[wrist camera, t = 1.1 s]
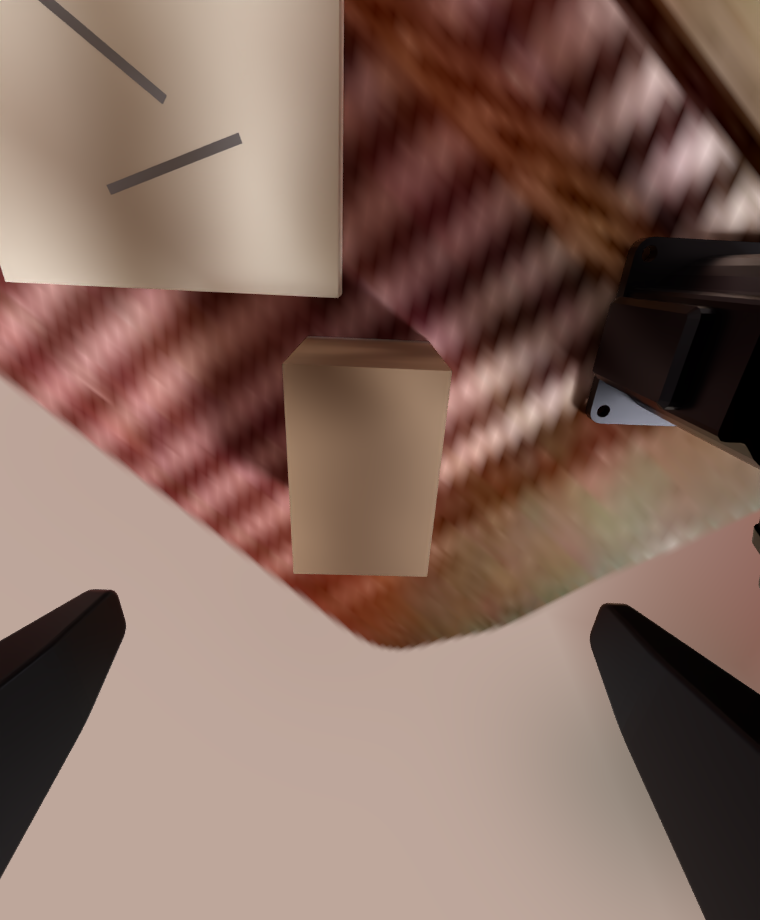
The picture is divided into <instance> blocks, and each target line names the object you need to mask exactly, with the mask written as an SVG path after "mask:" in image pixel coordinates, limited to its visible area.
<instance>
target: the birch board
mask: <svg viewBox="0 0 760 920" xmlns="http://www.w3.org/2000/svg"><path fill="white" fill-rule="evenodd" d="M343 92H344V0H0V266H1V269H2V272H3V275H4V278H5V281H6V282H21V283H41V284H62V285H82V286H103V287H123V288H144V289H164V290H185V291H205V292H226V293H246V294H266V295H287V296H307V297H328V298H339V297H340V296H341V295H342V235H343Z"/></svg>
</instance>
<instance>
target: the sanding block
mask: <svg viewBox="0 0 760 920" xmlns="http://www.w3.org/2000/svg"><path fill="white" fill-rule="evenodd" d="M282 370H283V389H284V407H285V425H286V444H287V462H288V481H289V499H290V517H291V536H292V554H293V573H295V574H337V575H380V576H422V577H427V572H428V564H429V556H430V548H431V540H432V531H433V523H434V515H435V507H436V498H437V490H438V482H439V474H440V466H441V457H442V449H443V441H444V433H445V424H446V416H447V408H448V400H449V392H450V383H451V375H452V371H451V369H450V368H449V367H448V365H447V364H446V363H445V362H444V360H443V359H442V358H441V356H440V355H439V354H438V353H437V351H436V350H435V349H434V347H433V346H432V345H431V344H430V342H429V341H411V340H389V339H367V338H345V337H323V336H307V338H306V339H305V340H304V341H303V342H302V343H301V344H300V345H299V346H298V347H297V348H296V349H295V351H294V352H293V353H292V354H291V355H290V356H289V357H288V358H287V359H286V360H285V361H284V362H283V364H282Z"/></svg>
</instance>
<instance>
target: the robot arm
mask: <svg viewBox="0 0 760 920" xmlns="http://www.w3.org/2000/svg"><path fill="white" fill-rule="evenodd" d="M646 247H649V249H650V255H649V257H648V259H647V260H645V261H643V259H642V252H643V251H644V249H645V248H646ZM593 373H594V374H595V377H594V381H593V384H592V388H591V392H590V395H589V399H588V403H587V406H586V414H587V416H588V417H589V418H590V419H592V420H593V421H594V422H597V423H604V424H630V425H657V426H677V427H679V428H681V429H683V430H685V431H687V432H689V433H691V434H693V435H695V436H697V437H699V438H700V439H702V440H704V441H706V442H708V443H710V444H712V445H714V446H716V447H718V448H720V449H721V450H723V451H725V452H727V453H729V454H731V455H733V456H735V457H737V458H739V459H741V460H742V461H744V462H746V463H748V464H750V465H752V466H754V467H756V468H758V469H760V243H756V242H739V241H721V240H703V239H685V238H668V237H648V238H641V239H640V240H638V241H636V242H635V243H634V244H633V245H632V247H631V248H630V250H629V253H628V256H627V260H626V263H625V267H624V271H623V274H622V278H621V282H620V285H619V289H618V293H617V296H616V299H615V300H614V301H613V302H612V303H611V305H610V308H609V312H608V315H607V319H606V323H605V327H604V330H603V334H602V338H601V341H600V345H599V349H598V353H597V356H596V360H595V364H594V367H593ZM602 405H605V409H604V411H603V412H601V413H600V414H597V410H598V408H599V407H601V406H602ZM752 543H753V544H754V546H755V548H756V549H757V551H758V552H759V553H760V521H759V523H758V524H756V525H755V526H754V530H753V538H752ZM759 588H760V579H759ZM125 629H126V622H125V618H124V615H123V611H122V608H121V605H120V601H119V598H118V595H117V593H116V592H115V591H113V590H101V589H100V590H99V589H93V590H88V591H86V592H84V593H82V594H81V595H79V596H77V597H76V598H74V599H72V600H70V601H68V602H67V603H65V604H63V605H62V606H60V607H58V608H56V609H55V610H53V611H51V612H49V613H48V614H46V615H44V616H43V617H41V618H39V619H37V620H36V621H34V622H32V623H31V624H29V625H27V626H25V627H23V628H22V629H20V630H18V631H17V632H15V633H13V634H11V635H10V636H8V637H6V638H4V639H3V640H1V641H0V878H1V876H2V874H3V873H4V871H5V869H6V867H7V865H8V864H9V862H10V860H11V858H12V856H13V855H14V853H15V851H16V849H17V847H18V846H19V844H20V842H21V840H22V838H23V836H24V835H25V833H26V831H27V829H28V827H29V826H30V823H31V822H32V820H33V818H34V816H35V814H36V813H37V811H38V809H39V807H40V806H41V804H42V802H43V800H44V798H45V796H46V795H47V793H48V791H49V789H50V787H51V785H52V784H53V782H54V780H55V778H56V776H57V775H58V773H59V771H60V769H61V767H62V766H63V764H64V762H65V760H66V758H67V757H68V755H69V753H70V751H71V749H72V748H73V746H74V744H75V742H76V740H77V738H78V736H79V734H80V733H81V731H82V729H83V727H84V725H85V723H86V721H87V719H88V717H89V715H90V713H91V710H92V708H93V706H94V704H95V701H96V699H97V697H98V695H99V692H100V690H101V688H102V685H103V683H104V681H105V678H106V676H107V674H108V672H109V669H110V667H111V665H112V662H113V660H114V658H115V655H116V653H117V651H118V649H119V646H120V644H121V642H122V639H123V637H124V634H125ZM590 644H591V648H592V651H593V654H594V657H595V659H596V662H597V666H598V669H599V671H600V674H601V677H602V680H603V683H604V686H605V689H606V692H607V695H608V697H609V700H610V703H611V706H612V709H613V712H614V715H615V718H616V720H617V723H618V725H619V728H620V730H621V733H622V735H623V737H624V740H625V743H626V745H627V747H628V749H629V752H630V753H631V756H632V758H633V760H634V763H635V765H636V767H637V769H638V771H639V773H640V776H641V778H642V780H643V783H644V785H645V787H646V789H647V791H648V793H649V796H650V798H651V800H652V802H653V804H654V807H655V809H656V811H657V813H658V815H659V818H660V820H661V822H662V824H663V827H664V829H665V831H666V833H667V835H668V837H669V840H670V842H671V844H672V846H673V849H674V851H675V853H676V855H677V857H678V860H679V862H680V864H681V866H682V869H683V871H684V872H685V875H686V877H687V879H688V882H689V884H690V886H691V888H692V891H693V893H694V895H695V897H696V899H697V902H698V904H699V906H700V908H701V911H702V913H703V915H704V917H705V919H706V920H760V694H758V693H757V692H755V691H754V690H752V689H751V688H749V687H748V686H746V685H745V684H743V683H742V682H741V681H739V680H738V679H736V678H735V677H733V676H732V675H730V674H729V673H727V672H726V671H724V670H723V669H721V668H720V667H718V666H717V665H716V664H714V663H713V662H711V661H710V660H708V659H707V658H705V657H704V656H702V655H701V654H699V653H698V652H696V651H695V650H694V649H692V648H691V647H689V646H688V645H686V644H685V643H683V642H681V641H680V640H679V639H677V638H676V637H674V636H673V635H671V634H670V633H668V632H667V631H666V630H664V629H663V628H661V627H660V626H658V625H657V624H655V623H654V622H652V621H651V620H649V619H648V618H646V617H645V616H643V615H642V614H641V613H639V612H638V611H636V610H635V609H633V608H632V607H630V606H628V605H626V604H618V603H617V604H616V603H615V604H614V603H606V604H603V605H602V606H601V607H600V609H599V612H598V615H597V617H596V620H595V623H594V625H593V628H592V631H591V634H590Z"/></svg>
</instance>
